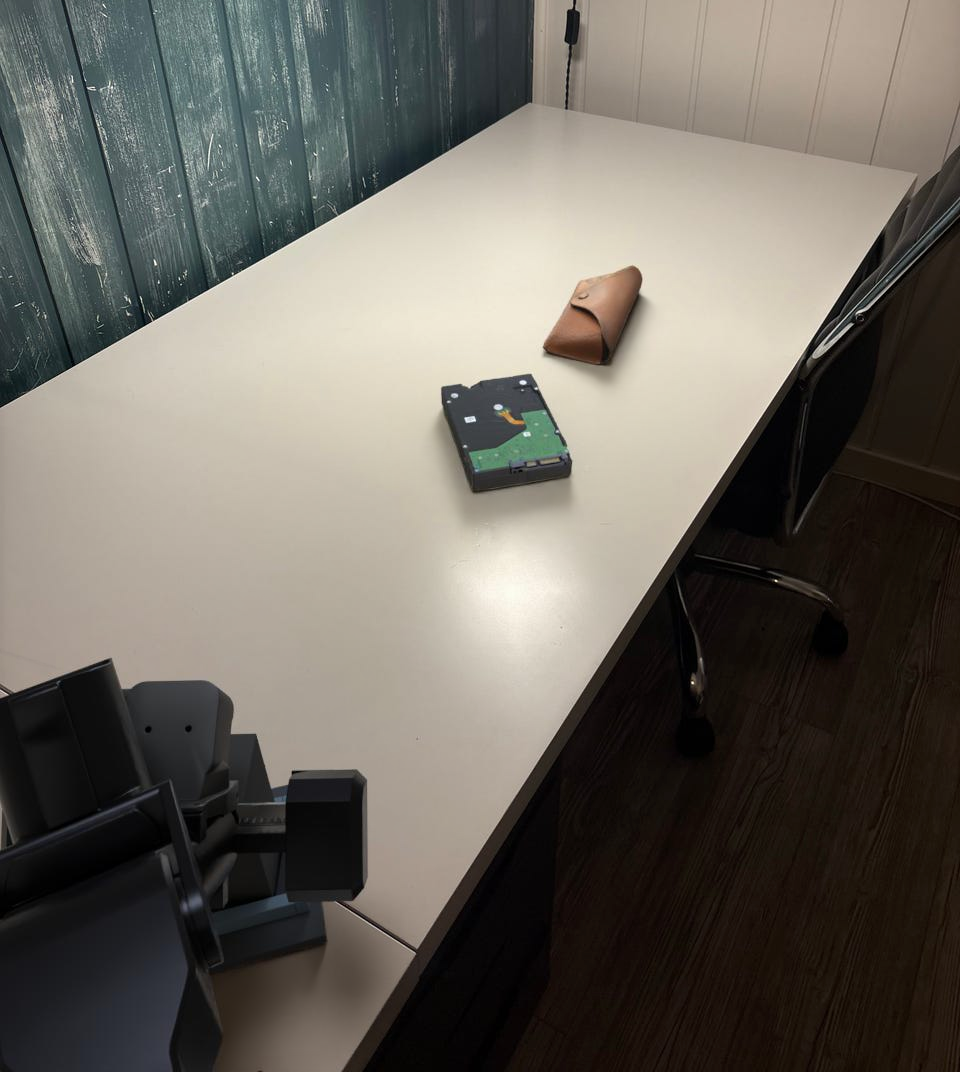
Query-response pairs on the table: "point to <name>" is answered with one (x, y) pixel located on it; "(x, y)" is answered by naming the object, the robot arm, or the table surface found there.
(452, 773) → the table surface
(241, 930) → the base pad
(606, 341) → the sunglasses case
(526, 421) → the disk drive
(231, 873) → the dark grey square block
